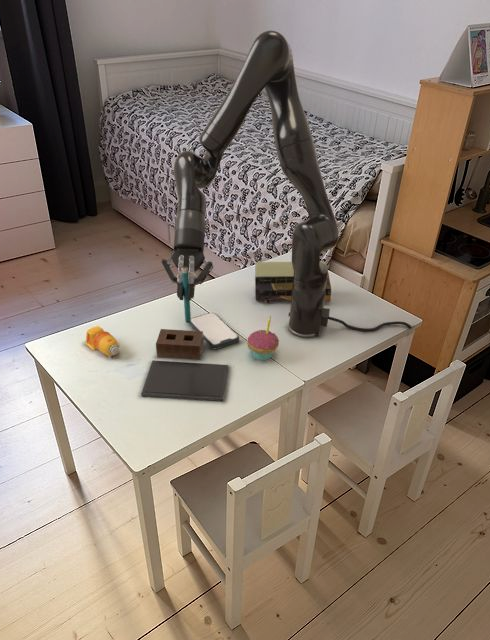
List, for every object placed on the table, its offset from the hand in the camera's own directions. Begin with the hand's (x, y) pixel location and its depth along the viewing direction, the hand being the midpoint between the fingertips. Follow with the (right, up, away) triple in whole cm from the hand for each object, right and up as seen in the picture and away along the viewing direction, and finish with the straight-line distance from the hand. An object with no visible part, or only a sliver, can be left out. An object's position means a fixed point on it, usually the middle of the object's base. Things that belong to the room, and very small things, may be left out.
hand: (185, 299), depth 134 cm
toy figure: (-24, -12, +12) cm, 29 cm away
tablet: (0, -20, +3) cm, 21 cm away
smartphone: (+5, -6, +20) cm, 22 cm away
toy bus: (+29, +7, +37) cm, 48 cm away
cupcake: (+19, -13, +13) cm, 27 cm away
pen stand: (-3, -12, +13) cm, 18 cm away
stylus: (0, -5, +7) cm, 8 cm away
